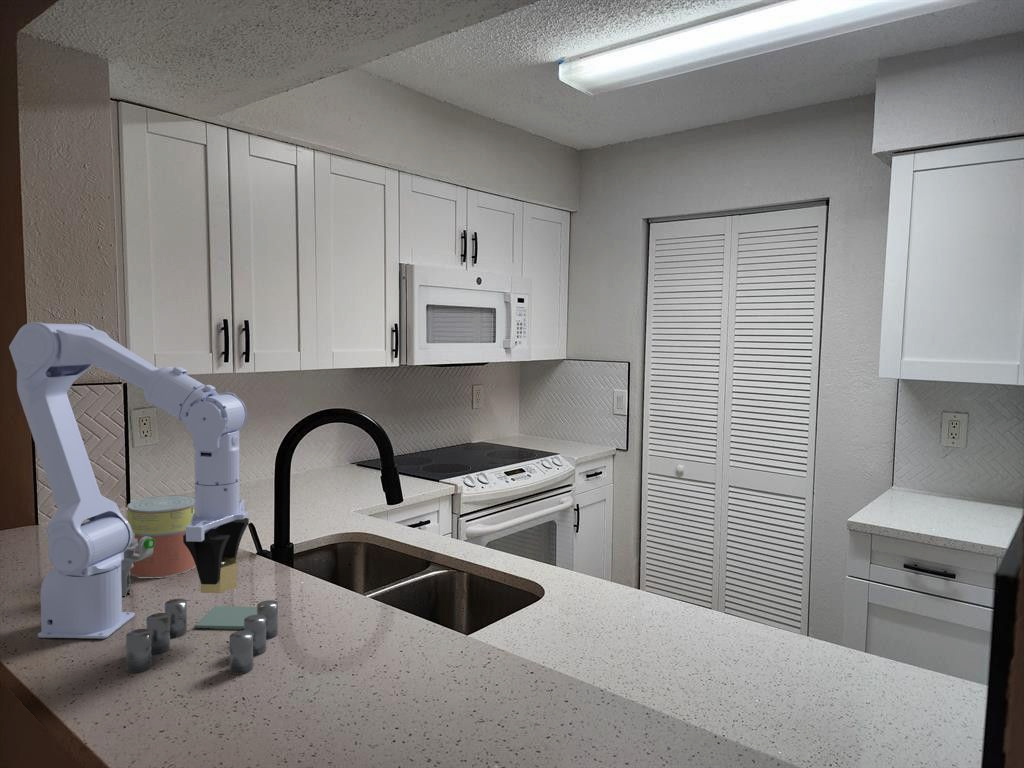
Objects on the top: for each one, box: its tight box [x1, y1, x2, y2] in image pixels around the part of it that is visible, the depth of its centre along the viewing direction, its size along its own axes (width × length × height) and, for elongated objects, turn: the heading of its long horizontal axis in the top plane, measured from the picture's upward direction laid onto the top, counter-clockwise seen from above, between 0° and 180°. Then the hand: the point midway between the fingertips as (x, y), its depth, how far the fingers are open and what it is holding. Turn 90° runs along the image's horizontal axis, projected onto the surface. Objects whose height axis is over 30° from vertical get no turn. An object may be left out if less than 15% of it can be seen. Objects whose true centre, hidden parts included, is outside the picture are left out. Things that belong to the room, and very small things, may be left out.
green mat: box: [194, 605, 257, 630], centre depth 102 cm, size 9×7×1 cm
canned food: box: [126, 494, 196, 578], centre depth 122 cm, size 11×11×12 cm
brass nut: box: [198, 557, 238, 594], centre depth 95 cm, size 5×5×4 cm
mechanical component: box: [121, 533, 155, 597], centre depth 110 cm, size 3×10×10 cm, turn 78°
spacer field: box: [125, 598, 279, 675], centre depth 92 cm, size 16×13×4 cm
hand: (217, 576), depth 95 cm, fingers closed on brass nut, 5 cm apart
